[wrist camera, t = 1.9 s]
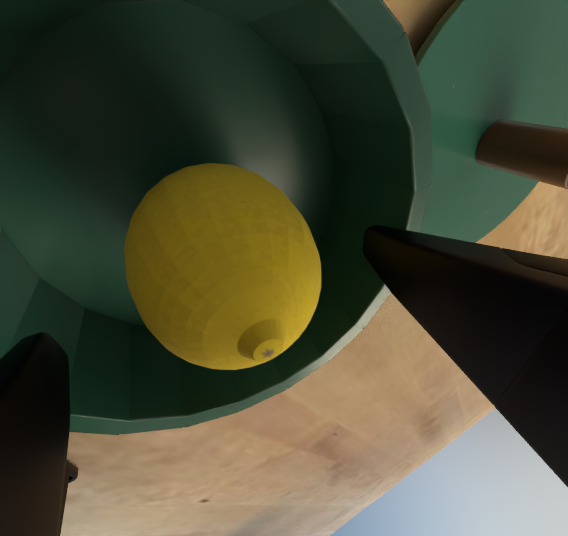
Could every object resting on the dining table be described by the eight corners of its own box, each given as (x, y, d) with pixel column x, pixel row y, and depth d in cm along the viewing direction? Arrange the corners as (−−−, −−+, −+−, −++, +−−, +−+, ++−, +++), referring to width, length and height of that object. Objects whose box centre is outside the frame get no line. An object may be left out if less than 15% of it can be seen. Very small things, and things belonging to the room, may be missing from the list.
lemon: (91, 181, 10) (26, 357, 4) (232, 115, 10) (364, 178, 5) (176, 285, 13) (212, 459, 7) (277, 231, 14) (384, 351, 8)
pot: (97, 370, 15) (84, 484, 11) (-246, -33, 6) (-1104, -257, 2) (337, 281, 19) (393, 340, 15) (352, -38, 10) (505, -110, 6)
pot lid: (356, 278, 19) (417, 337, 15) (388, -54, 10) (572, -141, 6) (510, 220, 24) (592, 254, 19) (635, -51, 14) (844, -100, 10)
